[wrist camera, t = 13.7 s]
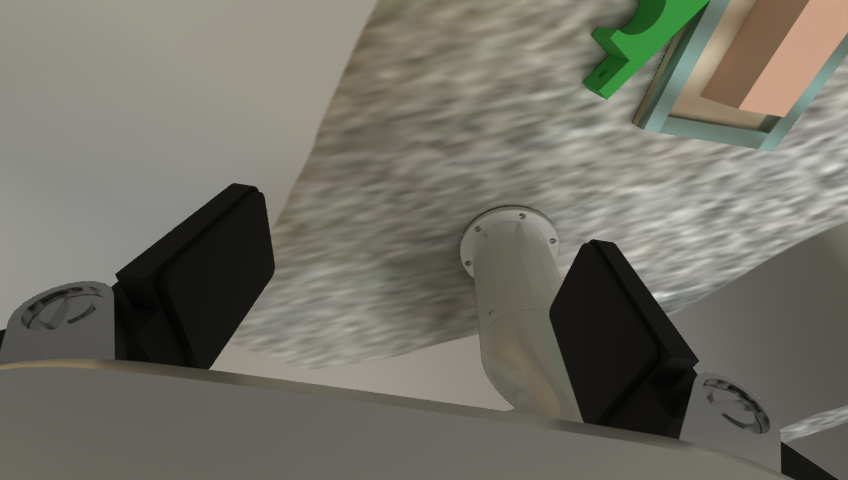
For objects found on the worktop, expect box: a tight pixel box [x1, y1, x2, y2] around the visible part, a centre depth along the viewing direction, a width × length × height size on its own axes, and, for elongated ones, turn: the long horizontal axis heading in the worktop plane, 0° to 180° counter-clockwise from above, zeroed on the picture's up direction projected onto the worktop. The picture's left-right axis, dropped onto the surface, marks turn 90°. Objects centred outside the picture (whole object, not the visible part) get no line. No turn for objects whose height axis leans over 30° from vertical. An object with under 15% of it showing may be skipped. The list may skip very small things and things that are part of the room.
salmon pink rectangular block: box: [700, 0, 848, 117], centre depth 27 cm, size 4×10×5 cm, turn 172°
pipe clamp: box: [583, 0, 710, 99], centre depth 28 cm, size 11×4×5 cm, turn 143°
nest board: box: [632, 0, 848, 151], centre depth 28 cm, size 17×13×2 cm
